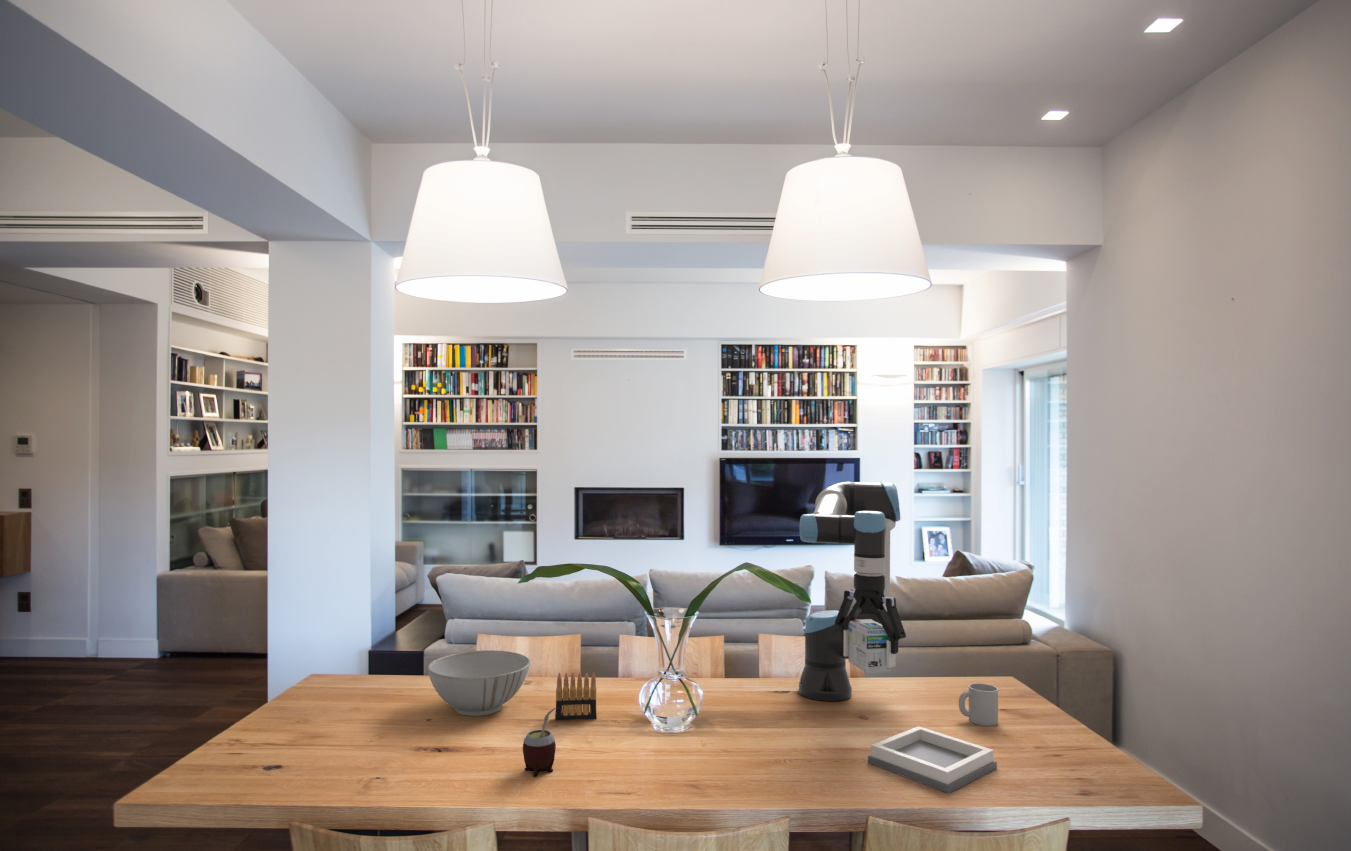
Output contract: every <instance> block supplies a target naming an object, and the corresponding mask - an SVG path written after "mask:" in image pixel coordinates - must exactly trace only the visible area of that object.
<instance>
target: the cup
mask: <svg viewBox="0 0 1351 851" xmlns="http://www.w3.org/2000/svg"><path fill="white" fill-rule="evenodd" d="M967 698H968V709H967V708H966V699H967ZM958 709H959V712H960V713H961V715H962V716H963V717H966V718H968V720H969V721H971V722H970V723H972V724H975V725H978V726H981V725H982V726H981V727H994V726H997V725H998V723H999V688H998V687H997V686H994V685H993V684H988V683H982V682H981V683H980V682H979V683H978V682H977V683H976V682H974V683H970V684H968V690H964V691H963V692H962V693H961V694H960V695H959V698H958ZM996 724H997V725H996Z"/></svg>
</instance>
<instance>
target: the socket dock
mask: <svg viewBox="0 0 1351 851" xmlns="http://www.w3.org/2000/svg"><path fill="white" fill-rule="evenodd" d="M867 763H868V764H871V765H873V766H876V767H879V768H881V769H884V770H886V771H889V772H891V773H894V774H896V773H897V775H899V774H900V775H899V776H902V775H903V776H902V777H904V776H905V777H904V778H907V777H908V778H907V779H910V780H913V781H915V782H918V783H921V784H922V785H926V786H928V787H931V788H934V789H937V790H940V791H942V792H945V793H947V794H951V793H952V792H954V791H956V790H958V789H959V788H961V787H963V786H965V785H967V784H969V783H971V782H973V781H975V780H977V779H979V778H981V777H982V776H985V775H987V774H988V773H990V772H992V771H994V770H996V769H998V768H997V767H998V764H997V761H996V760H994V749H992V748H988V747H985V746H982V745H979V744H976V743H972V742H970V741H966V740H963V739H960V738H957V737H953V736H951V735H948V734H944V733H941V732H937V731H936V730H932V729H928V728H925V727H923V726H919V725H918V726H914V727H912V728H910V729H908V730H905V731H903V732H900V733H898V734H895V735H893V736H890V737H888V738H885V739H883V740H880V741H877V742H875V743H872V744H871V745H870V754H869V755H867Z"/></svg>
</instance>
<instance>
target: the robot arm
mask: <svg viewBox="0 0 1351 851" xmlns="http://www.w3.org/2000/svg"><path fill="white" fill-rule="evenodd" d="M814 502H815V504H814V505H815V509H814V511H813V513H807V514H805V513H804V514H802V515H801V516H800V519H799V537H800V538H799V539H800V540H801V541H802V543H803V542H804V543H812V544H840V545H841V544H842V545H845V544H846V545H853V547H854V550H853V551H854V553H853V571H854V572H855V573H854V575H853V588H854V589H855V590H853V589H848V590H847V589H846V590H844V591H843V599H842V602H841V604H840V608H839V610H822V611H821V610H820V611H816V612H813V613H810V614H809V615H807V616H806V618H805V625H804V632H803V633H804V636H805V637H804V644H805V645H804V667H803V670H802V673H801V676H800V680H799V682H798V693H799V694H800V695H802V696H803V697H805V698H807V699H812V700H816V701H825V702H838V701H840V702H841V701H845V700H847V699H850V698H851V697H852V694H853V693H852V692H853V691H852V690H853V688H852V685H851V682H850V679H849V675H848V671H847V667H846V663H847V662H846V660H849V622H850V621H851V620H864V619H872V620H873V621H875V622H877V623H880V624H882V626H883V628H884V630H885V632H886V633H887V635H888V637H889V640H887V667H888V668H891V669H892V668H893V667H894V668H895V667H896V666H897V664H896V662H897V661H896V660H897V654H899V641H900V640H902V639H905V638H906V637H907V633H906V632H905V628H904V625H903V622H902V620H901V619H902V618H901V616H900V613H899V611H898V608H897V601H896V600H897V599H896V597H895V596H892V597H891V532H892V531H893V529H894V528H895V527H896V524H897V523H896V522H899V521H901V510H900V500H899V495H898V489H897V486H896V485H895V484H894V483H891V482H882V481H880V482H875V481H874V482H871V481H870V482H867V481H865V482H864V481H863V482H860V481H843V482H838V483H834V484H832V485H830V486H827V487H826V488H824V489H823V490H822V491H820V492H819V494H818V495H817V497H816V498H815V501H814ZM854 600H855V603H854V604H853V601H854ZM852 604H853V606H852ZM851 607H852V608H851ZM850 609H851V610H850Z"/></svg>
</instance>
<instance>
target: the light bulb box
mask: <svg viewBox="0 0 1351 851" xmlns="http://www.w3.org/2000/svg"><path fill="white" fill-rule="evenodd" d="M887 640H889V637H888V635H887V633H886V632H885V630H884V628H883V626H882V624H880V623H877V622H875V621H873V620H872V619H864V620H851V621H850V622H849V659H848V663H850V664H851V665H854V666H855V667H856V668H858V669H860V670H861V671H863V672H865V673H866V674H871V673H875V674H877V673H891V672H892V667H891V668H888V667H887Z"/></svg>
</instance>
